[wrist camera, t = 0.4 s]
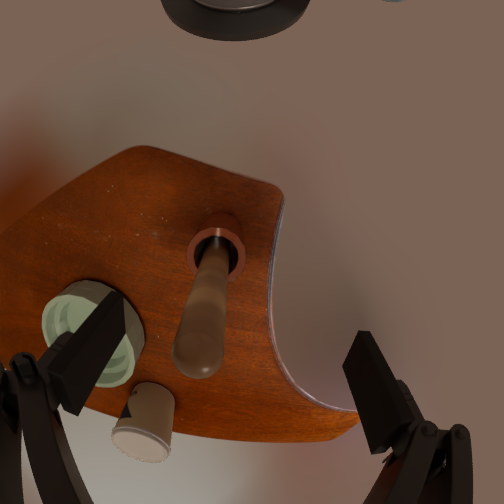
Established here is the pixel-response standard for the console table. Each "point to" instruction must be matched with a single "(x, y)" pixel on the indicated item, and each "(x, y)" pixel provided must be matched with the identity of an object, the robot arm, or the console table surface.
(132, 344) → the bowl
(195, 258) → the crock
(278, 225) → the console table surface
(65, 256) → the console table surface
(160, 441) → the coffee cup
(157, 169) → the console table surface
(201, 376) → the stick
